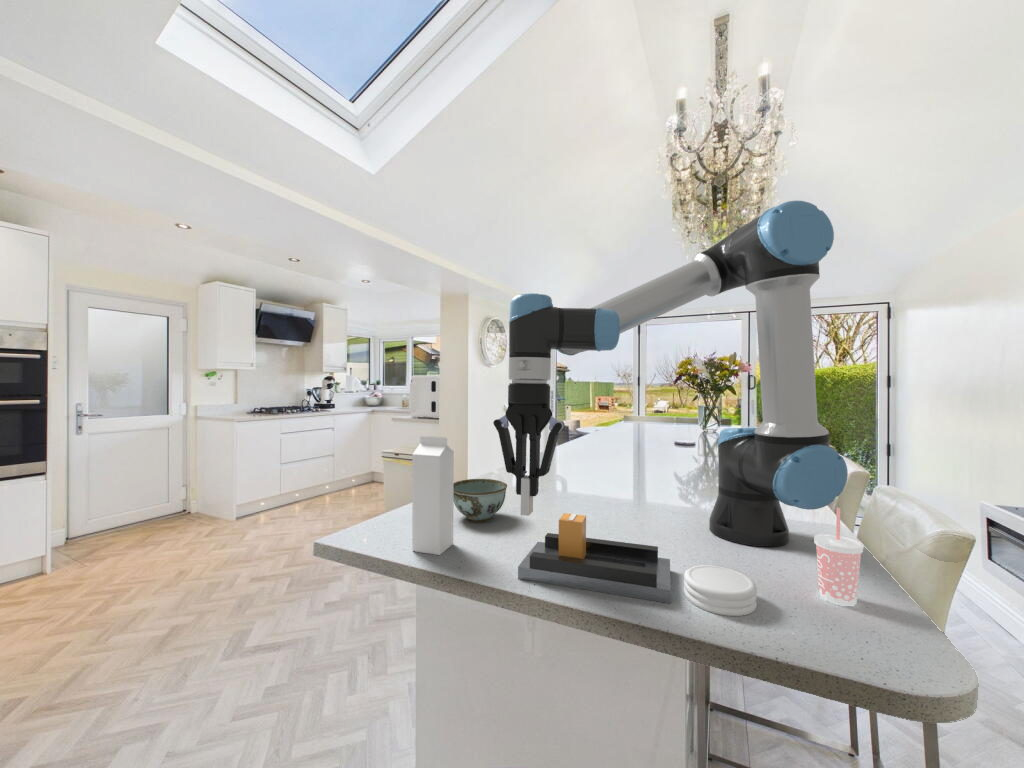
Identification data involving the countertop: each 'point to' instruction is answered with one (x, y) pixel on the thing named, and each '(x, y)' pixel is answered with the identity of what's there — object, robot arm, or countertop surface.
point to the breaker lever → (572, 535)
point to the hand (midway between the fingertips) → (526, 513)
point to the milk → (432, 496)
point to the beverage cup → (838, 566)
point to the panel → (600, 583)
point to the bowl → (479, 498)
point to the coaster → (720, 590)
